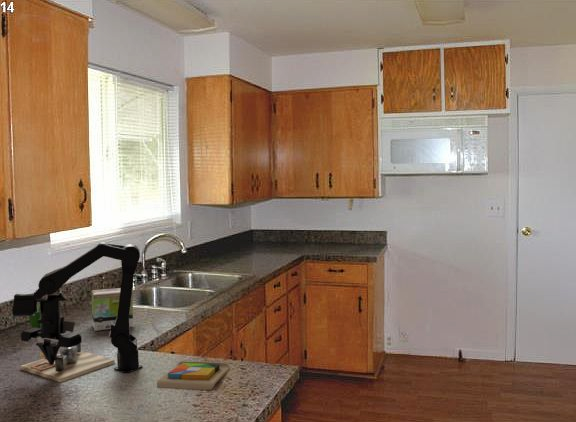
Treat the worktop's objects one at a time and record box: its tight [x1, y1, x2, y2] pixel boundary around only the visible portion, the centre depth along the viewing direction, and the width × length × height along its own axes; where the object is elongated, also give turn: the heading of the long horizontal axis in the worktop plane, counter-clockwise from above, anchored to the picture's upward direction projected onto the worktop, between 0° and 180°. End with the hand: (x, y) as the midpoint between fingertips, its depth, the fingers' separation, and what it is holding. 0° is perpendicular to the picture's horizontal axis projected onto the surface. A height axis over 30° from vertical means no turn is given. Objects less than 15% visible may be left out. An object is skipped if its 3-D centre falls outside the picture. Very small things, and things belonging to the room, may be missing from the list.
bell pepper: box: [28, 303, 41, 328], centre depth 234 cm, size 8×8×10 cm
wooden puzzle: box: [156, 360, 230, 391], centre depth 177 cm, size 18×19×4 cm
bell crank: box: [39, 343, 82, 372], centre depth 188 cm, size 11×20×5 cm, turn 3°
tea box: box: [91, 287, 134, 332], centre depth 235 cm, size 15×10×15 cm, turn 114°
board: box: [20, 350, 116, 383], centre depth 189 cm, size 21×20×1 cm
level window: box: [31, 362, 55, 371], centre depth 185 cm, size 6×6×1 cm
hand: (51, 364), depth 180 cm, fingers closed
